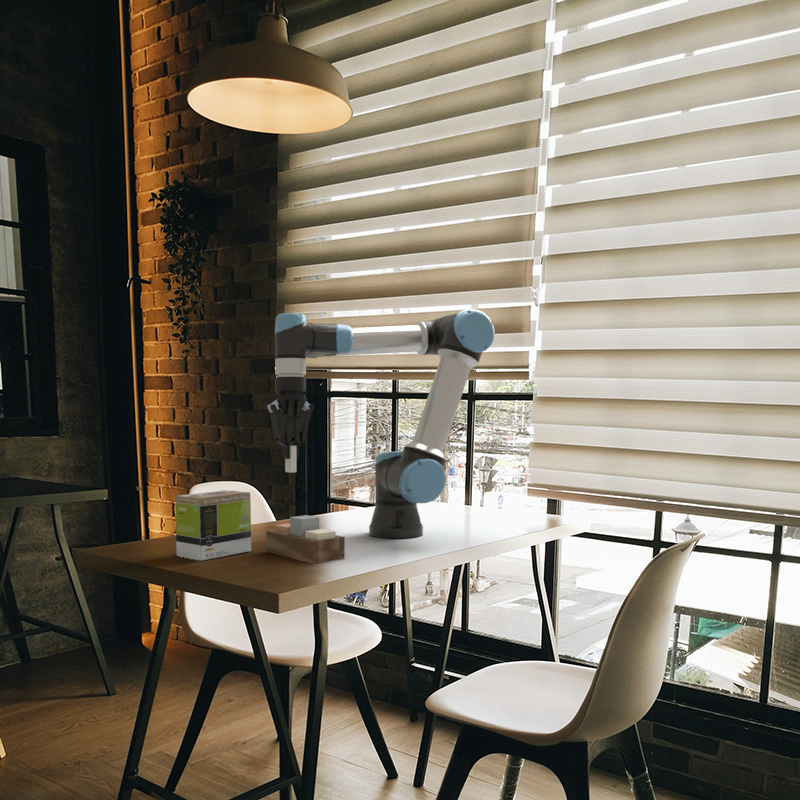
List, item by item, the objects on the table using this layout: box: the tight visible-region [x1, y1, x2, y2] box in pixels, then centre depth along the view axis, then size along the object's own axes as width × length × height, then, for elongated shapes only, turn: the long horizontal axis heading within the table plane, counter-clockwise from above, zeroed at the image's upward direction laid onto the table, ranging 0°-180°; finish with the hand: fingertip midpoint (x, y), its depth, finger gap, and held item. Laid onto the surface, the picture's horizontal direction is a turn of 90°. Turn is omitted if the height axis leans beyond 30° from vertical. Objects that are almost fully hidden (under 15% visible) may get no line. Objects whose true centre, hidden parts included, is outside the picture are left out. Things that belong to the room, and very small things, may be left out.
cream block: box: [305, 528, 336, 540], centre depth 169 cm, size 5×5×6 cm
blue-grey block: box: [289, 514, 320, 537], centre depth 173 cm, size 5×5×6 cm
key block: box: [265, 529, 346, 565], centre depth 173 cm, size 9×19×5 cm, turn 42°
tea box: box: [175, 489, 252, 562], centre depth 174 cm, size 15×10×15 cm
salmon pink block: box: [274, 522, 290, 534], centre depth 178 cm, size 5×5×6 cm
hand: (290, 471), depth 178 cm, fingers closed
